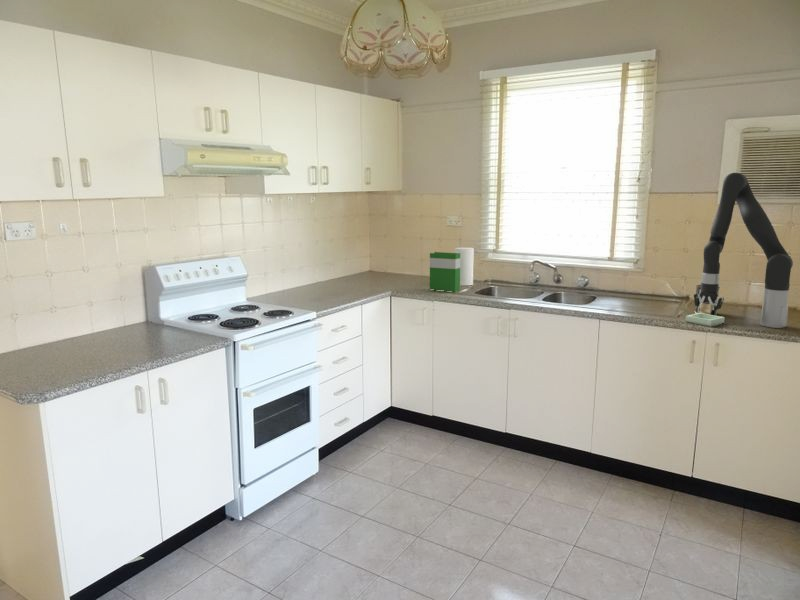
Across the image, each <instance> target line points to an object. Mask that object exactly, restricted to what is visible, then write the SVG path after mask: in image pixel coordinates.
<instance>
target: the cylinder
mask: <svg viewBox="0 0 800 600" xmlns="http://www.w3.org/2000/svg"><path fill="white" fill-rule="evenodd" d="M474 251H475V248H474V247H468V246H467V247H465V246H464V247H463V246H462V247H460V246H459V247H455V248H454V253H460V285H473V286H474V264H475V263H474V262H475V261H474V256H475V254H474V253H475V252H474Z"/></svg>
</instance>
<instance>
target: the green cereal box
mask: <svg viewBox="0 0 800 600" xmlns="http://www.w3.org/2000/svg"><path fill="white" fill-rule="evenodd" d="M430 289H434V290H444V291H452V292H456V291H459V290H460V291H461V287H460V253H455V252H443V251H442V252H441V251H439V252H438V251H435V252H430V253H429V290H430ZM460 291H459V292H460ZM456 293H457V292H456Z"/></svg>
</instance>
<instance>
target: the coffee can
mask: <svg viewBox="0 0 800 600" xmlns="http://www.w3.org/2000/svg"><path fill="white" fill-rule="evenodd" d="M719 291H720V286H719V287H718V295H719ZM700 293H701V284H697V285H696V289H695V294H700ZM699 300H700V301H701V297H700V298H699ZM715 301H716V306H717V303H718V301H717V299H716V300H715ZM694 312H695V313H694ZM717 312H718V309H717V310H716V315H717ZM693 313H694V314H696V313H699V307H697V306H695V305H694V311H693Z"/></svg>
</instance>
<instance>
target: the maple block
mask: <svg viewBox="0 0 800 600" xmlns="http://www.w3.org/2000/svg"><path fill="white" fill-rule="evenodd" d="M711 310H712V305H710V303H707V302H706V303H700V311H699V313H704V314H709V315H711Z"/></svg>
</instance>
